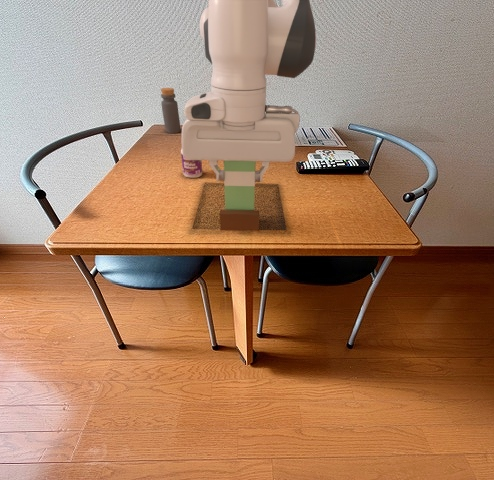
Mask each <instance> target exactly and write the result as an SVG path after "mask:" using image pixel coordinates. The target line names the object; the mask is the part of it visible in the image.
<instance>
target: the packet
mask: <svg viewBox="0 0 494 480" xmlns="http://www.w3.org/2000/svg"><path fill="white" fill-rule="evenodd" d="M223 170H224V182H223V184H224V187H225V188H224V192H225V193H224V197H225V198H224V200H225V202H224V203H225V206H224V210H255V206H254V200H256V198H255V195H256V193H255V191H256V188H255V187H256V185H255V184H256V182H255V171H256V161H223Z"/></svg>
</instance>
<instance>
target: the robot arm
mask: <svg viewBox="0 0 494 480" xmlns="http://www.w3.org/2000/svg"><path fill="white" fill-rule="evenodd" d="M281 3H282V6H278V5H277V4H276V2H275V1H274V0H208V6H207V7H205V9H204V10H203V11H202V13H201V14H200V15H201V16H200V20H199V33H200V38H201V39H202V41H203V43H204V52H205V55H204V56H205V58H206V60H207V61H208V62H209V63H210V64H211V65H212V73H211V74H212V75H211V78H210V90H209V91H206V92H202V93H200V94H197V95H194V96H192V97H190V98H189V99H188V100H187V101H186V103H185V104H184V109H183V113H184V117H185V118H186V119H185V120H184V123H183V124H182V126H181V149H182V153H183V155H184V156H185V157H186V158H187V159H188V160H201V161H208V163H209V165H208V166H209V167H210V168H211V171H213V172H214V174H215V177H216V178H215V179H216V180H215V181H216V183H224V169H221V168H220V167H219V165H218V163H219V162H221V161H223V162H224V161H255V162H261V167H260V168H259V170H255V183H263V182H264V181H263V180H264V175H265V174H266V172H267V170H268V169H269V168H270V162H273V163H274V162H275V163H290V162H291V161H293V159H294V158H296V157H295V155H296V133H297V131H298V130H299V128H300V122H301V121H300V120H301V116H300V113H299V111H298V110H297V109H295V108H293V106H291V105H284V106H282V105H274V104H273V105H270V104H266V102H267V99H266V98H267V78H266V76H277V77H282V78H289V79H295V78H297V77H299V76H300V75H301V74H302V73H304V72H305V71H306V70H307V69H308V68H309V67H310V66H311V65H312V63H313V61H314V58H315V53H316V47H317V30H316V24H315V19H314V14H313V11H312V6H311V3H310V0H281ZM218 161H219V162H218Z"/></svg>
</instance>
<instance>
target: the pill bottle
mask: <svg viewBox="0 0 494 480" xmlns="http://www.w3.org/2000/svg"><path fill="white" fill-rule="evenodd" d="M180 157H181V165H182V174H183V176H184V177H186V178H188V179H197V178H200V177H201V176H202V175H203V165H202V162H203V160H188V159H187V158H186V157H185V156H184V155H183V153H182V148H181V149H180Z"/></svg>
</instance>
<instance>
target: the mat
mask: <svg viewBox="0 0 494 480" xmlns="http://www.w3.org/2000/svg"><path fill="white" fill-rule="evenodd" d="M219 187H220V189H221V190H218V188H219ZM255 189H257V190H255V199H254V210H225V185H224V183H222V182H218V183H217V182H214V183H210V182H204V185H203V188H202V192H201V196H200V202H199V204H198V206H197V210H196V215H195V216H194V217H195V218H194V221H193V225H192V228H191V229H195V230H198V229H199V228H202V230H205V229H206V230H215V231H216V230H217V231H219V230H220V231H254V232H255V231H257V232H258V231H287V225H286V224H287V223H286V220H285V213H284V209H283V203H282V196H281V191H280V186H279V183H261V184H260V186H259V184H258V183H255ZM264 195H265V196H264Z"/></svg>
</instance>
